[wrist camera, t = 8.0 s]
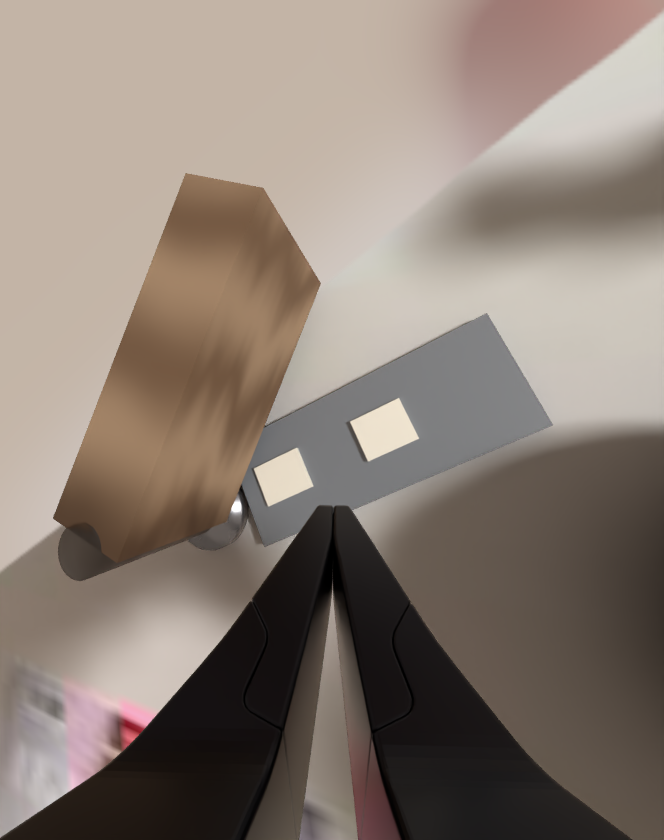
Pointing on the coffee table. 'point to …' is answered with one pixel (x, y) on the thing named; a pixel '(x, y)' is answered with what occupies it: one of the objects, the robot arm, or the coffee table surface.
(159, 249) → the block
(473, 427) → the label board
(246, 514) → the hinge base
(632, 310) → the coffee table surface
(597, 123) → the coffee table surface
